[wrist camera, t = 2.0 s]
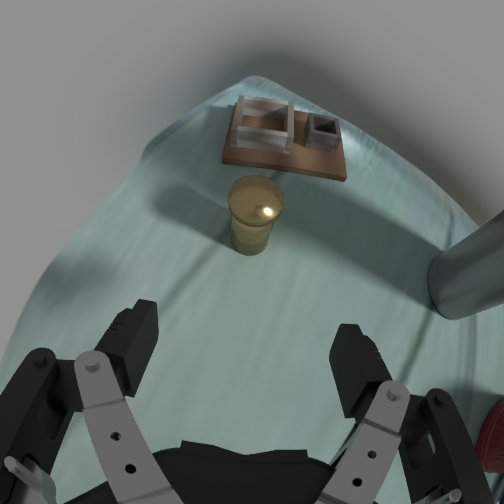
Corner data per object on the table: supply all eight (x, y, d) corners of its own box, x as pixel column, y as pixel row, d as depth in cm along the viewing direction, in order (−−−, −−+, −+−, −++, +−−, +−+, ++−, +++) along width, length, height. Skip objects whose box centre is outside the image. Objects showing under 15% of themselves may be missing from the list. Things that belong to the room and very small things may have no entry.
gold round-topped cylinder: (271, 222, 31) (284, 179, 24) (268, 261, 29) (282, 225, 22) (230, 217, 31) (232, 172, 23) (225, 255, 29) (224, 217, 22)
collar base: (336, 123, 39) (344, 105, 35) (344, 181, 34) (355, 162, 31) (235, 107, 38) (236, 86, 35) (222, 163, 34) (222, 141, 30)
